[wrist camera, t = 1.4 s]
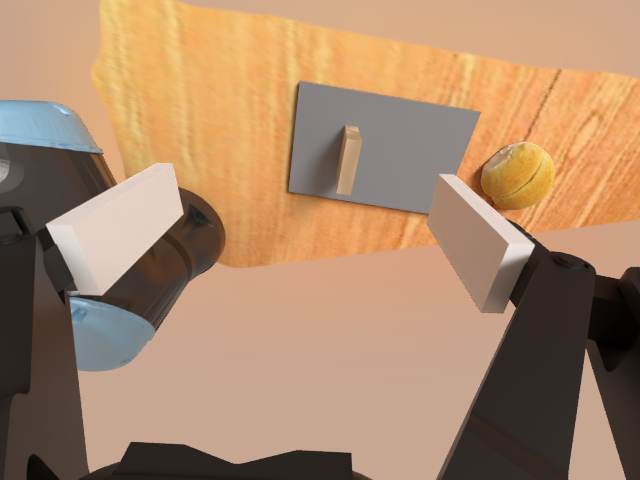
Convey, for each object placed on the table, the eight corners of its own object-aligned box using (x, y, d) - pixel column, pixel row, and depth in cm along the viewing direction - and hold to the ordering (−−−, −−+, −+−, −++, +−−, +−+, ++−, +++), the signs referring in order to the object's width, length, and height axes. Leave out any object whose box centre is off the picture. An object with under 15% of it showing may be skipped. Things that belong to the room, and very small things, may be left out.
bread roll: (505, 214, 44) (519, 227, 40) (467, 175, 41) (479, 186, 38) (560, 173, 40) (581, 183, 37) (523, 128, 37) (541, 134, 34)
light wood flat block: (336, 171, 40) (336, 193, 33) (345, 125, 37) (346, 138, 30) (348, 173, 40) (350, 195, 33) (357, 127, 37) (362, 141, 30)
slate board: (289, 188, 43) (288, 191, 42) (300, 80, 36) (299, 80, 35) (437, 212, 44) (439, 215, 43) (476, 110, 37) (481, 112, 35)
